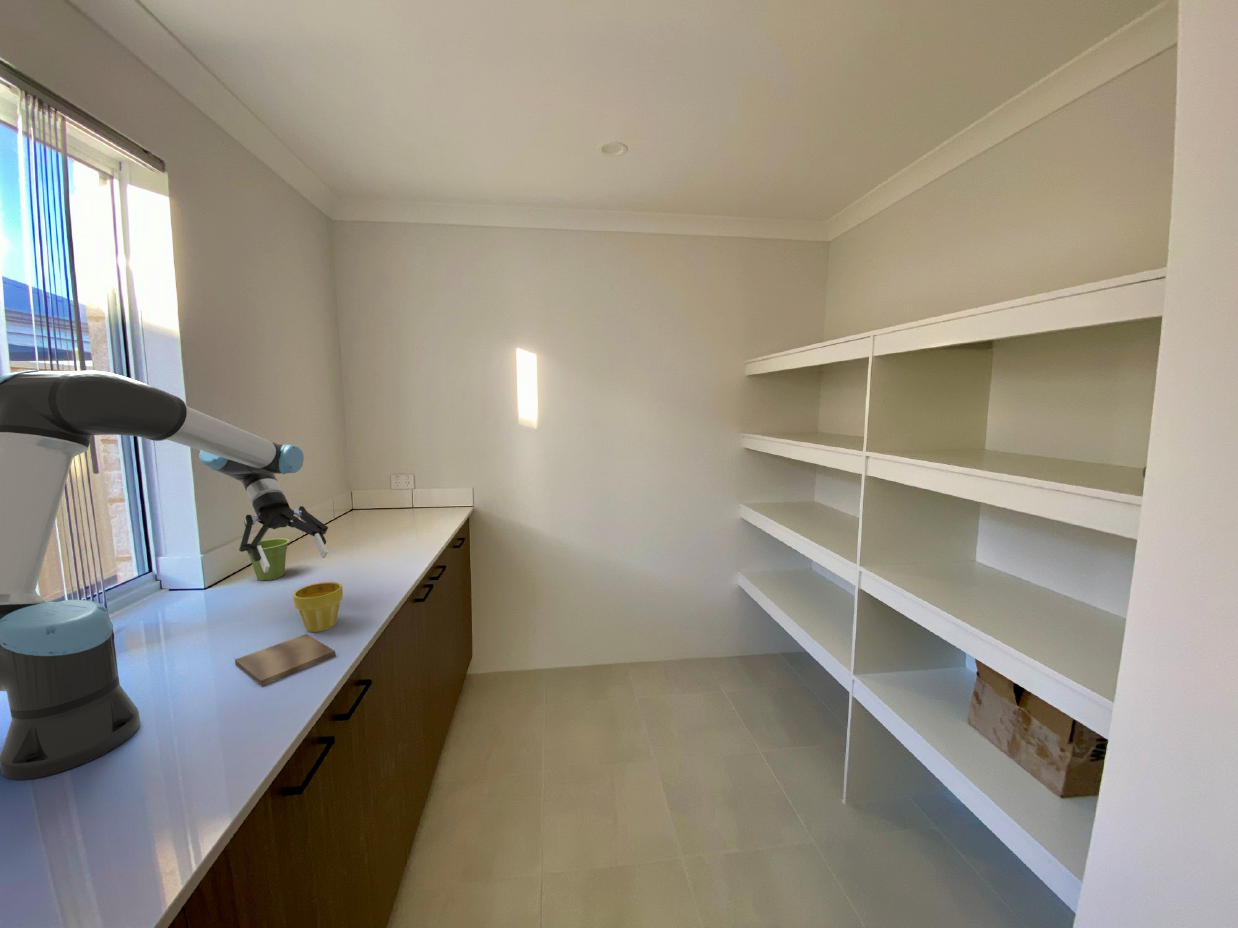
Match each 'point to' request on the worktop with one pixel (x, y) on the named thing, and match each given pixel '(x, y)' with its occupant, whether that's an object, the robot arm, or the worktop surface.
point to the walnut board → (284, 659)
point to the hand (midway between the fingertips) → (297, 562)
